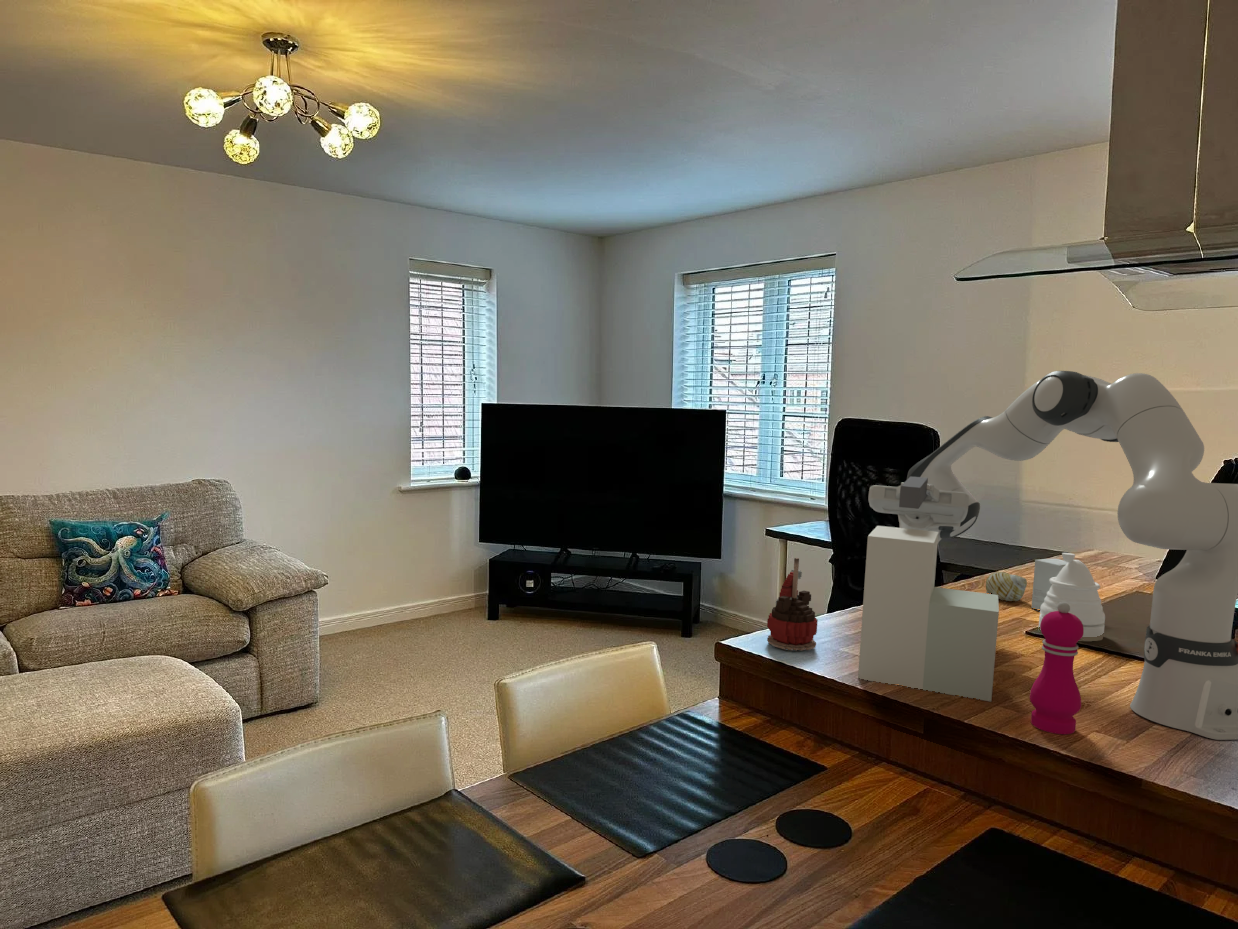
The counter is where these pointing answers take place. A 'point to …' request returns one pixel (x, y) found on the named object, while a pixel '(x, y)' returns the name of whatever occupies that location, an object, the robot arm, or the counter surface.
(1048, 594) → the honey pot
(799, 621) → the cake
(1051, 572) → the supplement box
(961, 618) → the step stand
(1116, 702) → the counter surface
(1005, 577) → the yarn ball
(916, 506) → the gray rectangular bar
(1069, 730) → the pepper mill
